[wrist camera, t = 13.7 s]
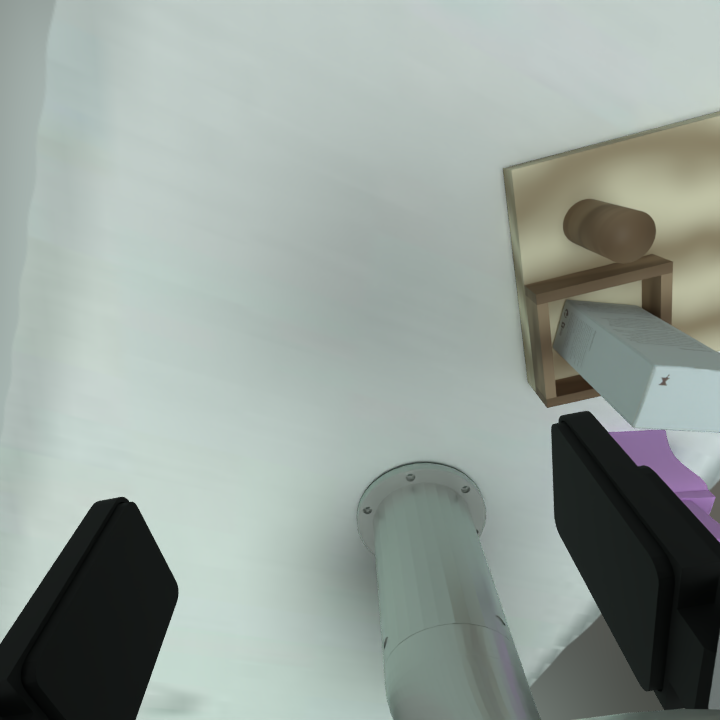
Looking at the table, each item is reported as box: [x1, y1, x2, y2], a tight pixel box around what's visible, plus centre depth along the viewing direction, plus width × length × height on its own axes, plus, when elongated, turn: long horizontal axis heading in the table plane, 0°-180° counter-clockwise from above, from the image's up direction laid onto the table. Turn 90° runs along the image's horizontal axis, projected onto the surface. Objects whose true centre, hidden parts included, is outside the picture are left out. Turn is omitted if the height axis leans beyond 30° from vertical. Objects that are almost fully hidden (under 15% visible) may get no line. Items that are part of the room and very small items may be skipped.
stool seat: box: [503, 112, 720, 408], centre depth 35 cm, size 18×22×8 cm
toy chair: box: [608, 430, 720, 542], centre depth 40 cm, size 8×9×15 cm
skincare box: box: [553, 300, 720, 433], centre depth 33 cm, size 6×4×12 cm
